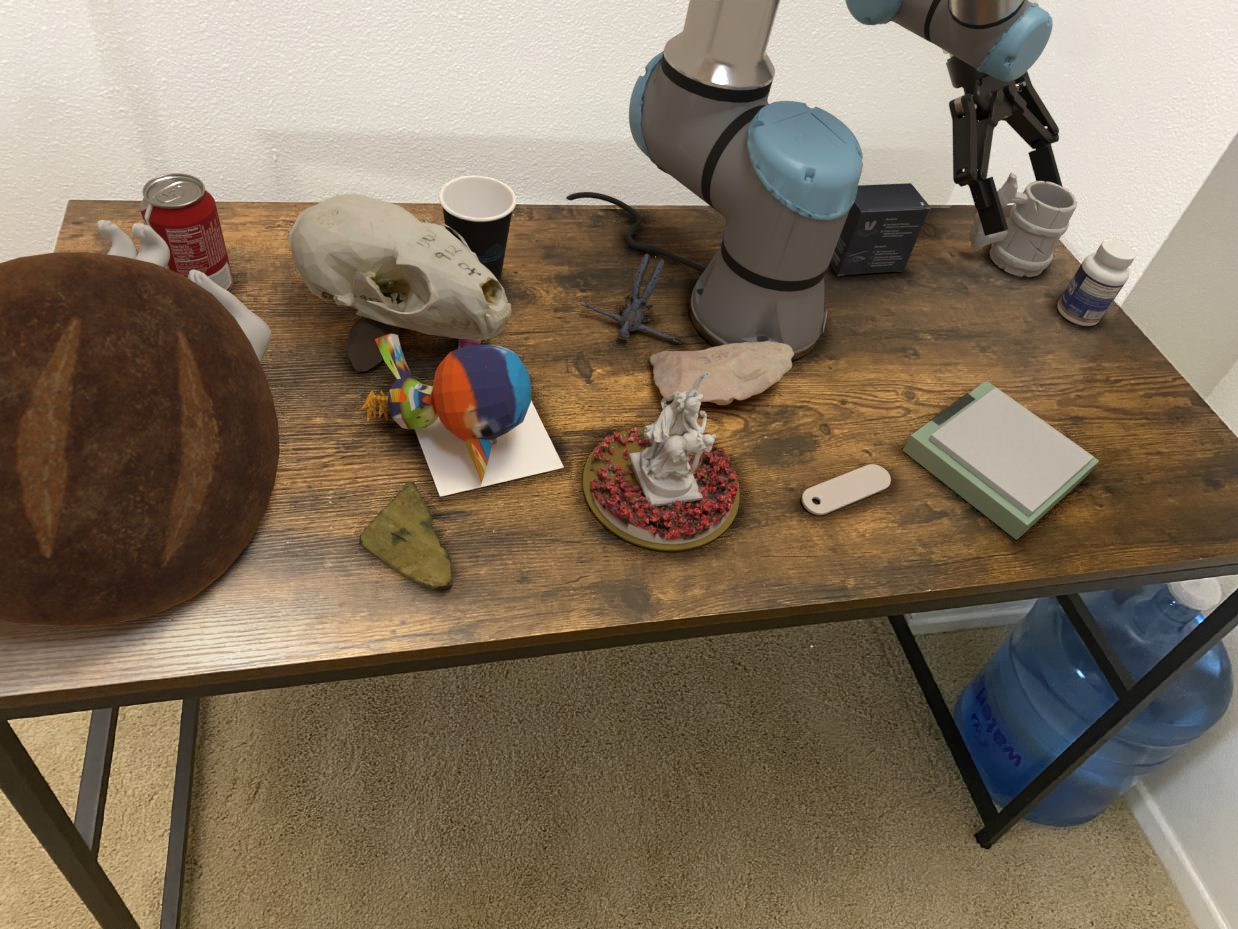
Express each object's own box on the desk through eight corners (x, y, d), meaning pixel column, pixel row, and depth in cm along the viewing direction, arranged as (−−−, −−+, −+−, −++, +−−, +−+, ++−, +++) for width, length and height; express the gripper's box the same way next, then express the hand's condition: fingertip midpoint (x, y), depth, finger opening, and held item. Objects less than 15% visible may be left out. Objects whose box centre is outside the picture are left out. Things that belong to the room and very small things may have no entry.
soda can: (247, 291, 98) (225, 193, 89) (188, 318, 94) (159, 218, 85) (211, 260, 100) (187, 161, 91) (152, 284, 97) (120, 184, 88)
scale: (901, 449, 95) (912, 428, 93) (976, 395, 102) (988, 374, 100) (1016, 540, 89) (1031, 520, 87) (1087, 475, 96) (1103, 455, 94)
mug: (1053, 281, 118) (1102, 200, 109) (965, 273, 117) (1007, 191, 108) (1034, 245, 123) (1079, 165, 114) (950, 237, 122) (989, 155, 113)
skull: (454, 397, 85) (454, 307, 78) (260, 292, 92) (244, 201, 85) (542, 326, 94) (549, 241, 87) (360, 236, 101) (353, 150, 94)
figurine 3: (707, 420, 94) (738, 311, 84) (762, 536, 85) (806, 432, 75) (565, 438, 90) (579, 327, 79) (607, 563, 81) (630, 456, 70)
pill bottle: (1063, 293, 117) (1103, 228, 110) (1104, 313, 115) (1147, 248, 108) (1050, 313, 114) (1090, 248, 106) (1092, 333, 112) (1135, 269, 105)
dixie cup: (496, 312, 101) (498, 227, 92) (428, 291, 101) (425, 205, 93) (522, 271, 106) (527, 187, 97) (458, 251, 107) (457, 167, 98)
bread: (277, 291, 80) (331, 285, 74) (256, 603, 81) (307, 622, 75) (-144, 213, 59) (-116, 196, 53) (-169, 636, 60) (-144, 666, 54)
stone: (459, 590, 78) (460, 580, 76) (382, 613, 75) (381, 602, 74) (418, 486, 84) (418, 475, 83) (346, 503, 82) (344, 492, 80)
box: (885, 245, 119) (912, 181, 112) (904, 273, 115) (933, 208, 108) (819, 249, 116) (842, 183, 109) (837, 277, 113) (862, 211, 106)
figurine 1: (432, 277, 96) (394, 361, 89) (429, 306, 100) (393, 389, 93) (371, 259, 96) (329, 342, 89) (371, 289, 100) (330, 370, 93)
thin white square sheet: (440, 496, 83) (439, 486, 82) (405, 405, 90) (404, 394, 89) (564, 467, 88) (565, 457, 86) (522, 382, 94) (523, 371, 93)
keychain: (794, 496, 89) (812, 520, 88) (796, 492, 88) (814, 517, 87) (876, 463, 93) (894, 486, 92) (878, 460, 93) (896, 483, 91)
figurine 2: (707, 278, 102) (707, 272, 97) (675, 359, 103) (673, 358, 98) (607, 239, 103) (601, 232, 98) (576, 321, 104) (568, 317, 99)
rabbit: (125, 190, 68) (-90, 485, 60) (309, 349, 85) (159, 598, 77) (46, 186, 74) (-159, 453, 66) (232, 335, 91) (85, 564, 83)
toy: (351, 489, 82) (511, 488, 78) (345, 330, 81) (506, 322, 77) (404, 481, 91) (548, 480, 88) (399, 339, 91) (545, 332, 87)
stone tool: (658, 421, 93) (803, 411, 95) (659, 382, 90) (809, 372, 92) (646, 372, 100) (782, 363, 102) (647, 334, 97) (786, 326, 99)
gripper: (1003, 34, 120) (1048, 192, 125) (888, 80, 107) (943, 254, 112) (1058, 9, 113) (1103, 177, 118) (943, 55, 101) (999, 241, 106)
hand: (1025, 215), depth 115 cm, fingers open, 13 cm apart
